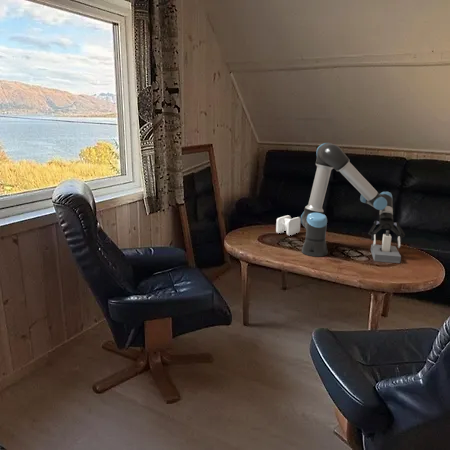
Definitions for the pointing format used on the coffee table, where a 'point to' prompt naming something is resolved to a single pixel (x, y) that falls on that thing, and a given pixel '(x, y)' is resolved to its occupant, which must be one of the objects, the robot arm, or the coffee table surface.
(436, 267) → the coffee table surface
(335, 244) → the coffee table surface
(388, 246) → the plug
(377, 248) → the socket panel
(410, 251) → the coffee table surface
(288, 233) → the cable organizer
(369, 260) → the coffee table surface
